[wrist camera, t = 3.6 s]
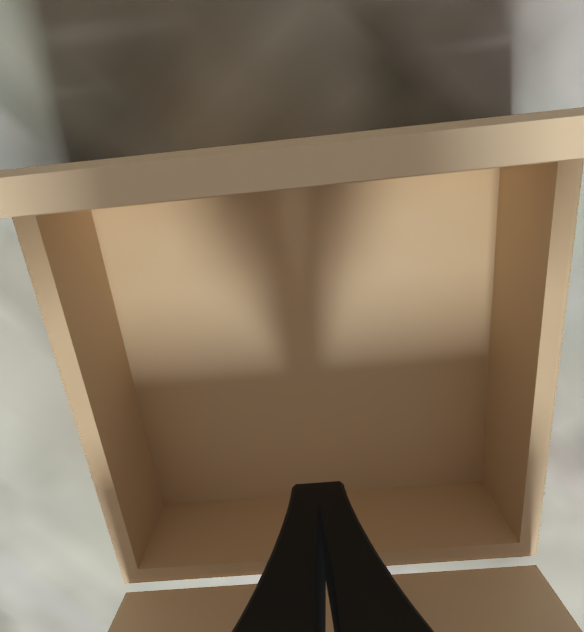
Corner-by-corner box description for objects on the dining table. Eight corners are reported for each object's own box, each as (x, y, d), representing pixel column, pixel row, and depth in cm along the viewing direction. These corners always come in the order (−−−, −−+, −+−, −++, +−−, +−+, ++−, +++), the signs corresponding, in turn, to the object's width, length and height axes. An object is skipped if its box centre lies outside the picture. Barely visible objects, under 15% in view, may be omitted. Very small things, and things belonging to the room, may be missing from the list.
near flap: (588, 130, 9) (593, 105, 9) (827, 132, 5) (847, 86, 5) (2, 192, 10) (-6, 171, 10) (-207, 239, 6) (-229, 202, 5)
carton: (511, 143, 13) (586, 131, 10) (489, 481, 17) (536, 555, 14) (76, 189, 13) (4, 193, 10) (157, 506, 17) (124, 583, 14)
